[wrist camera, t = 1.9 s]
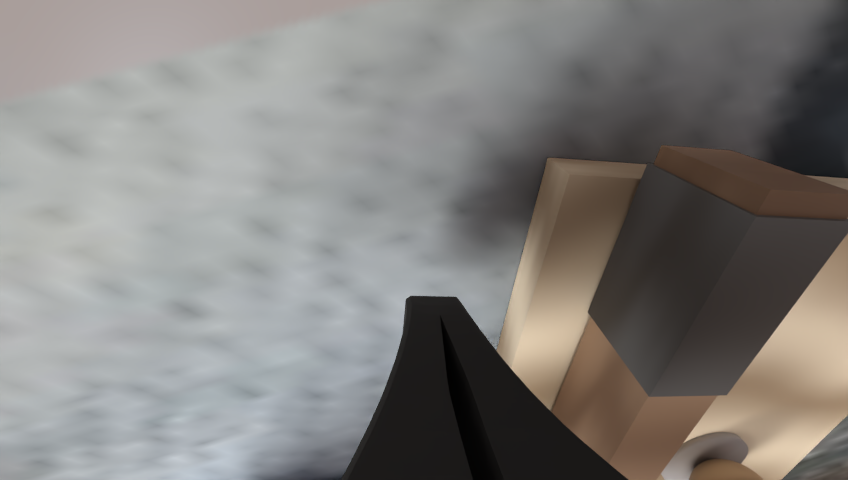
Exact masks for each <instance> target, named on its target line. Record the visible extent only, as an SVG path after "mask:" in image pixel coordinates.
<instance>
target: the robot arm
mask: <svg viewBox="0 0 848 480" xmlns="http://www.w3.org/2000/svg"><path fill="white" fill-rule="evenodd" d="M341 480H628V479H627V478H626V477H625V476H623V475H622V474H621V473H620V472H618V471H617V470H616V469H615V468H614V467H613V466H611V465H610V464H609V463H608V462H607V461H605V460H604V459H603V458H602V457H601V456H600V455H598V454H597V453H596V452H595V451H594V450H592V449H591V448H590V447H589V446H588V445H587V444H585V443H584V442H583V441H582V440H581V439H580V438H578V437H577V436H576V435H575V434H574V433H573V432H572V431H571V430H570V429H569V428H567V427H566V426H565V425H564V424H563V423H562V422H561V421H560V420H559V419H558V418H557V417H556V416H555V415H554V414H553V413H552V412H551V411H550V410H549V409H548V408H547V407H546V406H545V405H544V404H543V403H542V402H541V401H540V400H539V399H538V398H537V397H536V396H535V395H534V394H533V393H532V392H531V391H530V389H529V388H528V387H527V386H526V385H525V384H524V383H523V382H522V381H521V379H520V378H519V377H518V376H517V375H516V374H515V373H514V372H513V370H512V369H511V368H510V367H509V366H508V364H507V363H506V362H505V361H504V360H503V358H502V357H501V356H500V355H499V353H498V352H497V351H496V350H495V348H494V347H493V346H492V345H491V343H490V342H489V341H488V340H487V338H486V337H485V336H484V334H483V333H482V332H481V330H480V329H479V328H478V326H477V325H476V323H475V322H474V321H473V319H472V318H471V316H470V315H469V314H468V312H467V311H466V309H465V308H464V306H463V305H462V303H461V302H460V301H459V299H458V298H457V297H435V296H410V297H409V298H407V299H406V305H405V316H404V327H403V335H402V339H401V342H400V346H399V349H398V353H397V356H396V360H395V362H394V365H393V368H392V371H391V374H390V376H389V379H388V382H387V385H386V387H385V390H384V392H383V395H382V397H381V399H380V402H379V404H378V406H377V409H376V411H375V413H374V415H373V418H372V420H371V422H370V424H369V426H368V428H367V430H366V432H365V434H364V436H363V438H362V440H361V442H360V444H359V446H358V449H357V451H356V453H355V455H354V456H353V458H352V460H351V462H350V464H349V466H348V468H347V470H346V472H345V473H344V475H343V477H342V479H341Z"/></svg>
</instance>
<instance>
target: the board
mask: <svg viewBox="0 0 848 480" xmlns="http://www.w3.org/2000/svg"><path fill="white" fill-rule="evenodd" d="M646 166H647V164H634V163H620V162H606V161H591V160H577V159H563V158H548V159H547V162H546V166H545V170H544V174H543V178H542V181H541V185H540V189H539V193H538V196H537V200H536V204H535V208H534V211H533V215H532V219H531V223H530V227H529V230H528V234H527V238H526V242H525V245H524V249H523V253H522V257H521V261H520V264H519V268H518V272H517V276H516V279H515V283H514V287H513V291H512V294H511V298H510V302H509V306H508V310H507V313H506V317H505V321H504V325H503V328H502V332H501V336H500V340H499V344H498V347H497V352H498V353H499V355H500V356H501V357H502V358H503V360H504V361H505V362H506V363H507V364H508V366H509V367H510V368H511V369H512V370H513V372H514V373H515V374H516V375H517V376H518V377H519V378H520V379H521V381H522V382H523V383H524V384H525V385H526V386H527V387H528V388H529V389H530V391H531V392H532V393H533V394H534V395H535V396H536V397H537V398H538V399H539V400H540V401H541V402H542V403H543V404H544V405H545V406H546V407H547V408H548V409H549V410H550V411H551V412H552V410H553V407H554V405H555V402H556V400H557V398H558V395H559V393H560V390H561V388H562V385H563V383H564V381H565V378H566V376H567V373H568V371H569V368H570V366H571V364H572V361H573V359H574V356H575V354H576V351H577V349H578V347H579V344H580V342H581V339H582V337H583V334H584V332H585V330H586V327H587V325H588V322H589V320H590V317H591V316H590V315H589V314H588V310H589V307H590V305H591V302H592V300H593V297H594V295H595V292H596V290H597V287H598V285H599V282H600V280H601V277H602V275H603V272H604V270H605V267H606V265H607V262H608V260H609V257H610V255H611V252H612V250H613V247H614V245H615V242H616V240H617V238H618V235H619V233H620V230H621V228H622V225H623V223H624V220H625V218H626V215H627V213H628V210H629V208H630V205H631V203H632V200H633V198H634V195H635V193H636V190H637V188H638V185H639V183H640V180H641V178H642V175H643V173H644V170H645V168H646ZM805 176H806V175H805ZM808 177H811V178H814V179H817V180H819V181H822V182H825V183H828V184H831V185H834V186H837V187H840V188H843V189H846V190H848V178H835V177H820V176H808ZM847 219H848V218H847ZM847 415H848V234H847V235H846V236H845V238H844V239H843V240H842V242H841V243H840V244H839V246H838V247H837V248H836V250H835V251H834V252H833V254H832V255H831V256H830V258H829V259H828V260H827V262H826V263H825V264H824V266H823V267H822V269H821V270H820V271H819V273H818V274H817V275H816V277H815V278H814V279H813V281H812V282H811V283H810V285H809V286H808V287H807V289H806V290H805V291H804V293H803V294H802V295H801V297H800V298H799V299H798V301H797V302H796V303H795V305H794V306H793V307H792V309H791V310H790V311H789V313H788V314H787V315H786V317H785V318H784V319H783V321H782V322H781V323H780V325H779V326H778V327H777V329H776V330H775V331H774V333H773V334H772V335H771V337H770V338H769V339H768V341H767V342H766V344H765V345H764V346H763V348H762V349H761V350H760V352H759V353H758V354H757V356H756V357H755V358H754V360H753V361H752V362H751V364H750V365H749V366H748V368H747V369H746V370H745V372H744V373H743V374H742V376H741V377H740V378H739V380H738V381H737V382H736V384H735V385H734V386H733V388H732V389H731V390H730V392H729V393H728V394H727V395H720V396H717V397H716V399H715V400H714V401H713V403H712V404H711V406H710V407H709V408H708V410H707V411H706V412H705V414H704V415H703V416H702V418H701V419H700V421H699V422H698V423H697V425H696V426H695V427H694V429H693V430H692V432H691V433H690V434H689V436H688V437H687V438H686V440H685V441H684V443H683V444H682V445H681V447H680V448H679V449H678V451H677V452H676V454H675V455H674V456H673V458H672V459H671V460H670V462H669V463H668V464H667V466H666V467H665V469H664V470H663V471H662V473H661V474H660V475H659V477H658V478H657V480H781V479H782V478H783V477H784V476H785V475H786V474H787V473H788V472H789V471H790V470H792V469H793V468H794V467H795V466H796V465H797V464H798V463H799V462H800V461H801V460H802V459H803V458H804V457H805V456H806V455H807V454H808V453H809V452H810V451H811V450H812V449H813V448H814V447H815V446H816V445H817V444H818V443H819V442H820V441H821V440H822V439H823V438H824V437H825V436H826V435H827V434H828V433H830V432H831V431H832V430H833V429H834V428H835V427H836V426H837V425H838V424H839V423H840V422H841V421H842V420H843V419H844V418H845V417H846V416H847Z"/></svg>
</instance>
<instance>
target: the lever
mask: <svg viewBox="0 0 848 480" xmlns="http://www.w3.org/2000/svg"><path fill="white" fill-rule="evenodd" d="M847 218H848V190H846V189H843V188H840V187H837V186H834V185H831V184H828V183H825V182H822V181H819V180H817V179H814V178H811V177H808V176H805V175H802V174H799V173H796V172H793V171H790V170H787V169H784V168H781V167H779V166H776V165H773V164H770V163H767V162H764V161H761V160H758V159H755V158H752V157H749V156H746V155H743V154H740V153H738V152H735V151H732V150H719V149H706V148H693V147H680V146H667V145H661V147H660V150H659V152H658V155H657V157H656V160H655V162H654V163H647V166H646V168H645V170H644V173H643V175H642V178H641V180H640V183H639V185H638V188H637V190H636V193H635V195H634V198H633V200H632V203H631V205H630V208H629V210H628V213H627V215H626V218H625V220H624V223H623V225H622V228H621V230H620V233H619V235H618V238H617V240H616V242H615V245H614V247H613V250H612V252H611V255H610V257H609V260H608V262H607V265H606V267H605V270H604V272H603V275H602V277H601V280H600V282H599V285H598V287H597V290H596V292H595V295H594V297H593V300H592V302H591V305H590V307H589V310H588V314H589V315H590V316H591V317H590V320H589V322H588V325H587V327H586V330H585V332H584V334H583V337H582V339H581V342H580V344H579V347H578V349H577V351H576V354H575V356H574V359H573V361H572V364H571V366H570V368H569V371H568V373H567V376H566V378H565V381H564V383H563V385H562V388H561V390H560V393H559V395H558V398H557V400H556V402H555V405H554V407H553V410H552V413H553V414H554V415H555V416H556V417H557V418H558V419H559V420H560V421H561V422H562V423H563V424H564V425H565V426H566V427H567V428H569V429H570V430H571V431H572V432H573V433H574V434H575V435H576V436H577V437H578V438H580V439H581V440H582V441H583V442H584V443H585V444H587V445H588V446H589V447H590V448H591V449H592V450H594V451H595V452H596V453H597V454H598V455H600V456H601V457H602V458H603V459H604V460H605V461H607V462H608V463H609V464H610V465H611V466H613V467H614V468H615V469H616V470H617V471H618V472H620V473H621V474H622V475H623V476H625V477H626V478H627V479H628V480H657V478H658V477H659V475H660V474H661V473H662V471H663V470H664V469H665V467H666V466H667V464H668V463H669V462H670V460H671V459H672V458H673V456H674V455H675V454H676V452H677V451H678V449H679V448H680V447H681V445H682V444H683V443H684V441H685V440H686V438H687V437H688V436H689V434H690V433H691V432H692V430H693V429H694V427H695V426H696V425H697V423H698V422H699V421H700V419H701V418H702V416H703V415H704V414H705V412H706V411H707V410H708V408H709V407H710V406H711V404H712V403H713V401H714V400H715V399H716V397H717V396H720V395H727V394H728V393H729V392H730V390H731V389H732V388H733V386H734V385H735V384H736V382H737V381H738V380H739V378H740V377H741V376H742V374H743V373H744V372H745V370H746V369H747V368H748V366H749V365H750V364H751V362H752V361H753V360H754V358H755V357H756V356H757V354H758V353H759V352H760V350H761V349H762V348H763V346H764V345H765V344H766V342H767V341H768V339H769V338H770V337H771V335H772V334H773V333H774V331H775V330H776V329H777V327H778V326H779V325H780V323H781V322H782V321H783V319H784V318H785V317H786V315H787V314H788V313H789V311H790V310H791V309H792V307H793V306H794V305H795V303H796V302H797V301H798V299H799V298H800V297H801V295H802V294H803V293H804V291H805V290H806V289H807V287H808V286H809V285H810V283H811V282H812V281H813V279H814V278H815V277H816V275H817V274H818V273H819V271H820V270H821V269H822V267H823V266H824V264H825V263H826V262H827V260H828V259H829V258H830V256H831V255H832V254H833V252H834V251H835V250H836V248H837V247H838V246H839V244H840V243H841V242H842V240H843V239H844V238H845V236H846V235H847V234H848V219H847Z"/></svg>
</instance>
